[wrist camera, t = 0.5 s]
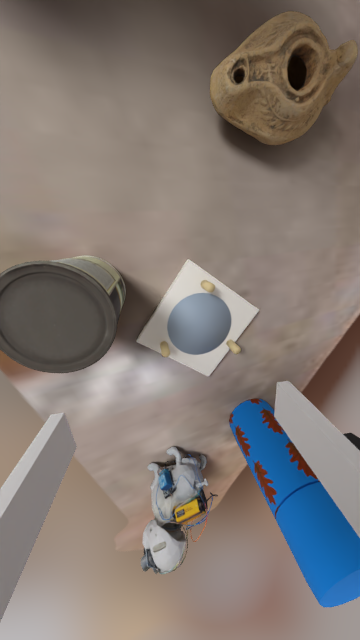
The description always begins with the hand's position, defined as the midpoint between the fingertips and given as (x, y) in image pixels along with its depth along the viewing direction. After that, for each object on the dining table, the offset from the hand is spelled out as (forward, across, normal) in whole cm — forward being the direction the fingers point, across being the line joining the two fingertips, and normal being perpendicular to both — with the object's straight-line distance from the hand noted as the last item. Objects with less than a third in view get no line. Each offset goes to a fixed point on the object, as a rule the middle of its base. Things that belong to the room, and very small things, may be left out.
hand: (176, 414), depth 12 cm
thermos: (+25, +17, -29) cm, 42 cm away
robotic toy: (+24, -3, -39) cm, 46 cm away
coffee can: (+21, -11, +5) cm, 25 cm away
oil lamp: (+23, +15, +27) cm, 38 cm away
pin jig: (+23, +6, -3) cm, 24 cm away
